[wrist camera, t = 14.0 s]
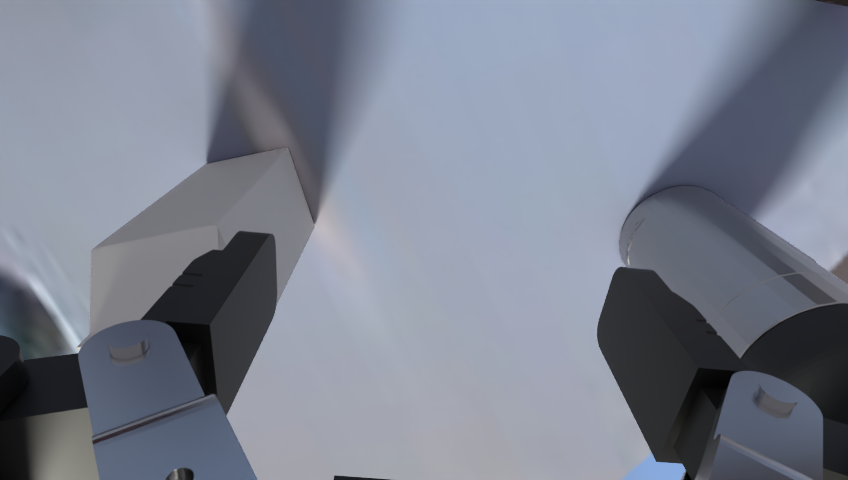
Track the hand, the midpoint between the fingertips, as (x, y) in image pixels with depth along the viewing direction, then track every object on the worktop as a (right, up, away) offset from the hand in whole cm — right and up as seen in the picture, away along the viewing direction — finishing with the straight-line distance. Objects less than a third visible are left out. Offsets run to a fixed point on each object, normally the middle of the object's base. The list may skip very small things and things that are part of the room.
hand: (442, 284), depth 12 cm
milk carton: (-14, +5, +29) cm, 33 cm away
